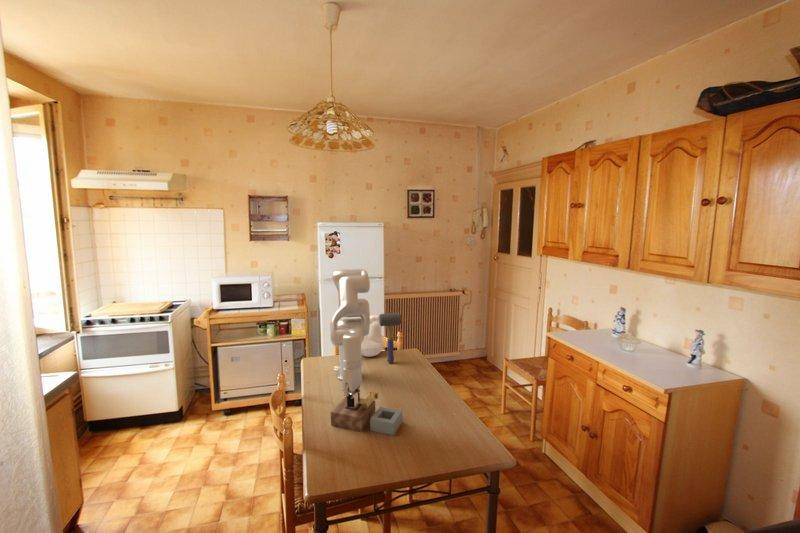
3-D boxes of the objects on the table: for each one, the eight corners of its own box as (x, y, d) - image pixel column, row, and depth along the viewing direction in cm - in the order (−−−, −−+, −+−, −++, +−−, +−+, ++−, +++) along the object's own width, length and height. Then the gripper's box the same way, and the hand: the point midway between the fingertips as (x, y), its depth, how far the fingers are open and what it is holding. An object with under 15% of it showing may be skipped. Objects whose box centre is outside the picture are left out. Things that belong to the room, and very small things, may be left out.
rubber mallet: (399, 359, 219) (399, 310, 215) (402, 364, 212) (401, 314, 208) (379, 361, 217) (378, 312, 213) (380, 366, 210) (380, 315, 205)
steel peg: (347, 421, 154) (346, 394, 152) (351, 416, 158) (351, 390, 156) (355, 422, 153) (355, 395, 151) (360, 417, 156) (359, 391, 155)
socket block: (331, 425, 151) (330, 411, 150) (347, 408, 164) (346, 395, 163) (361, 431, 146) (361, 417, 145) (375, 413, 159) (375, 401, 158)
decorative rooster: (379, 348, 238) (379, 311, 235) (387, 356, 223) (386, 317, 220) (341, 352, 230) (340, 314, 226) (346, 362, 215) (345, 321, 212)
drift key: (360, 407, 153) (360, 402, 152) (371, 396, 162) (371, 390, 162) (368, 409, 151) (368, 403, 151) (378, 397, 161) (378, 392, 161)
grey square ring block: (370, 430, 147) (370, 418, 146) (380, 417, 156) (379, 406, 156) (393, 435, 144) (393, 423, 143) (401, 421, 153) (401, 410, 152)
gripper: (353, 354, 161) (354, 393, 163) (334, 369, 145) (335, 412, 148) (369, 356, 158) (369, 396, 161) (351, 372, 142) (352, 415, 145)
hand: (353, 403), depth 154 cm, fingers closed on steel peg, 4 cm apart
